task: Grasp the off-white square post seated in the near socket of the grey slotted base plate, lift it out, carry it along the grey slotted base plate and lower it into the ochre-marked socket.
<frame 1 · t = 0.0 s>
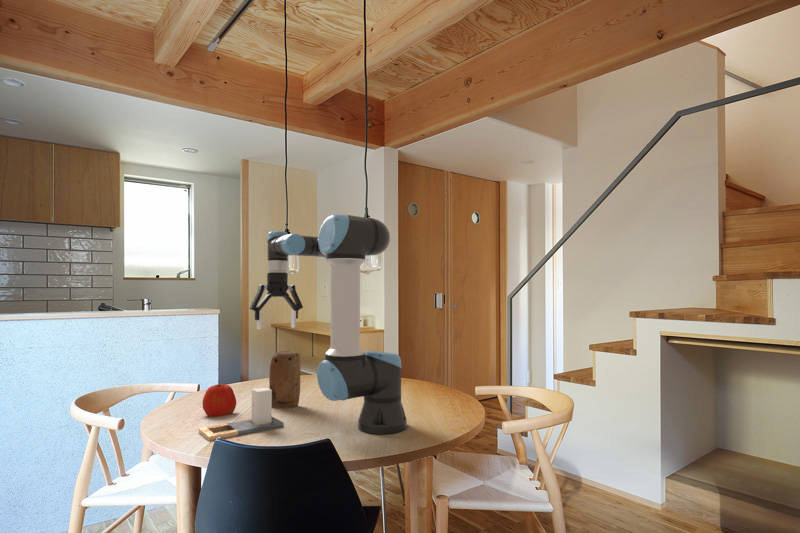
hand: (276, 328, 176), 28 cm above the table, fingers open, 13 cm apart
grey slotted base plate: (241, 432, 140), on the table
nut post: (261, 425, 143), point 1 cm above the table, touching grey slotted base plate
apple: (219, 415, 159), on the table
block: (284, 408, 169), on the table
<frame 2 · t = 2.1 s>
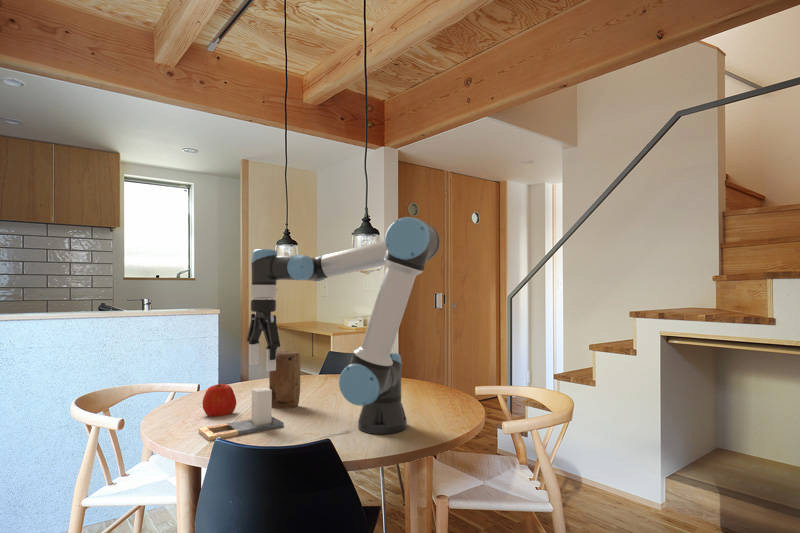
hand: (262, 367, 145), 18 cm above the table, fingers open, 13 cm apart
nothing on the table moved.
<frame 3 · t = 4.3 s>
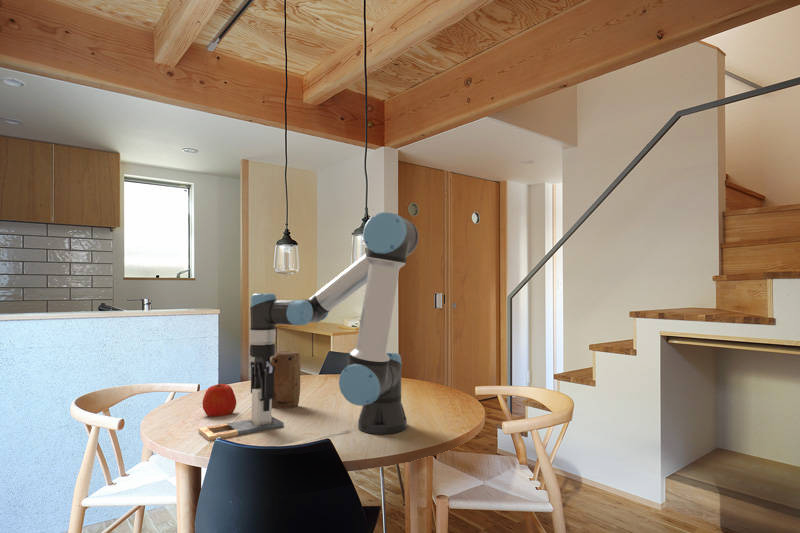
hand: (261, 419, 144), 3 cm above the table, fingers closed on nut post, 4 cm apart
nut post: (261, 425, 143), point 1 cm above the table, touching gripper, grey slotted base plate
everything else where it was.
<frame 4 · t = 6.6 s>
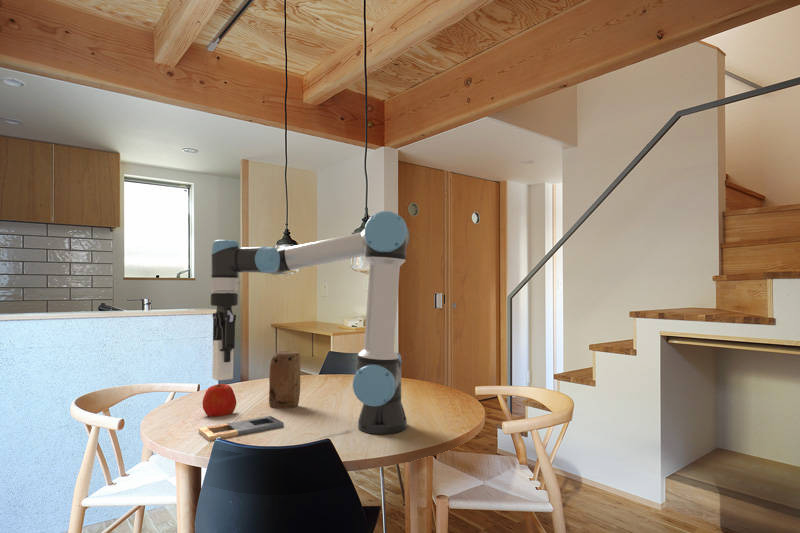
hand: (222, 371, 137), 18 cm above the table, fingers closed on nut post, 4 cm apart
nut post: (222, 378, 137), point 17 cm above the table, touching gripper
everything else where it was.
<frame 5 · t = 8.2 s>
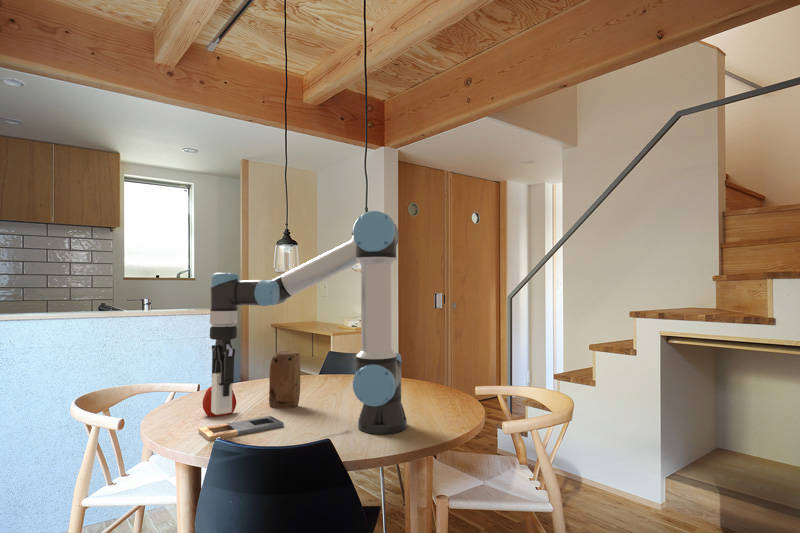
hand: (221, 405, 136), 9 cm above the table, fingers closed on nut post, 4 cm apart
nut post: (221, 411, 136), point 7 cm above the table, touching gripper
everything else where it was.
when the fingers open (4 cm above the table, at t = 9.4 s): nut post drops 1 cm, resting on grey slotted base plate.
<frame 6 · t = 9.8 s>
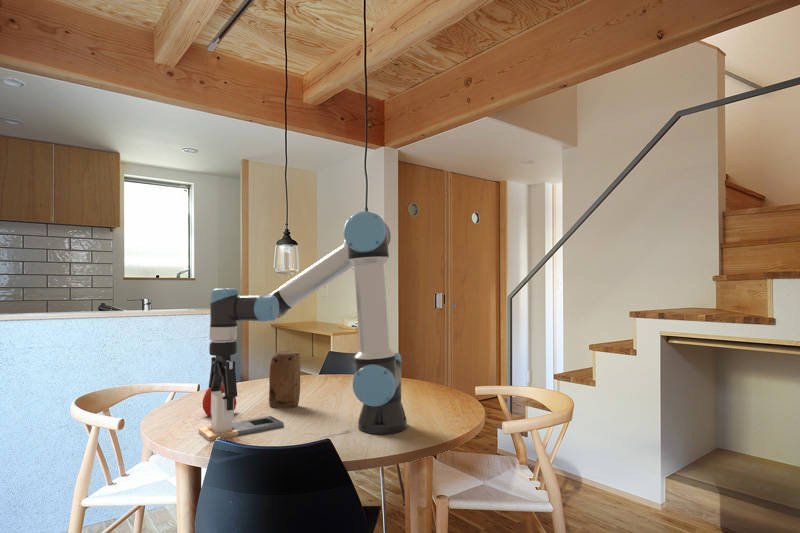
hand: (221, 417, 136), 5 cm above the table, fingers open, 10 cm apart
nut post: (221, 433, 136), point 1 cm above the table, touching grey slotted base plate
everything else where it was.
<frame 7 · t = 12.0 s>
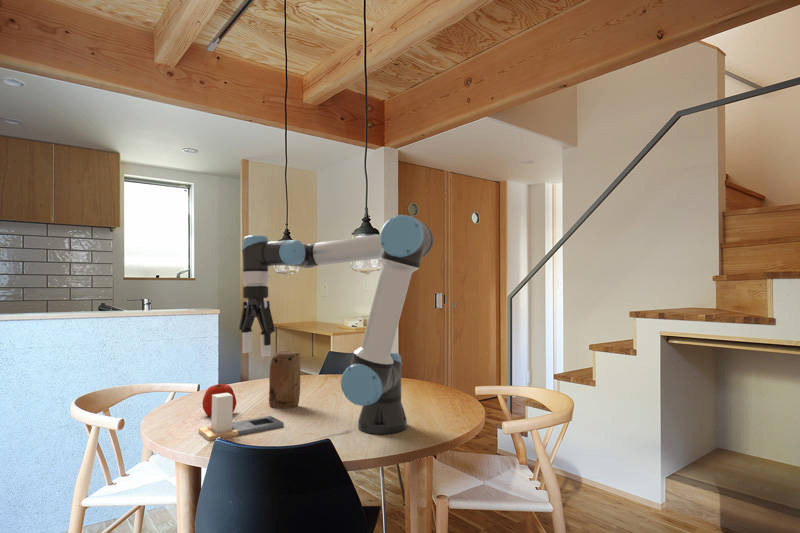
hand: (256, 354, 144), 23 cm above the table, fingers open, 13 cm apart
nothing on the table moved.
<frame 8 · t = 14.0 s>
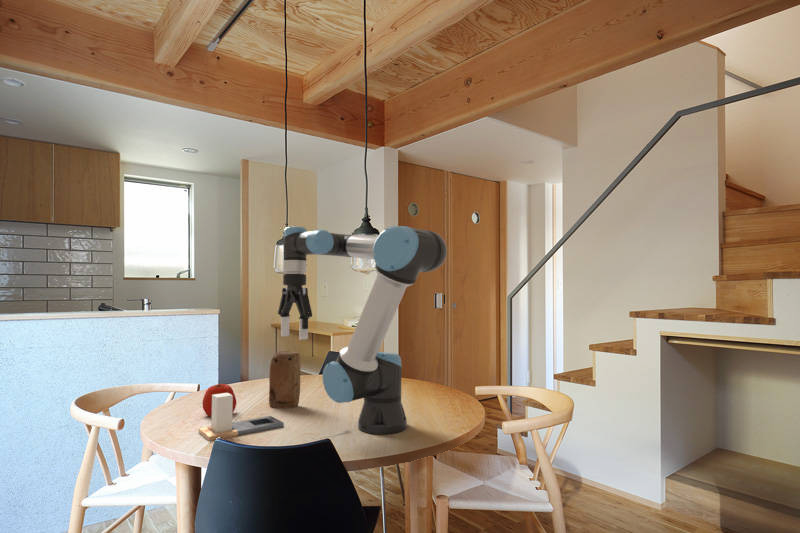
hand: (294, 337, 155), 27 cm above the table, fingers open, 13 cm apart
nothing on the table moved.
at the end: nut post 0.0 cm from the target spot on the grey slotted base plate, point 0.8 cm above the grey slotted base plate's base; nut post tilted 0°; the gripper is holding nothing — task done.
